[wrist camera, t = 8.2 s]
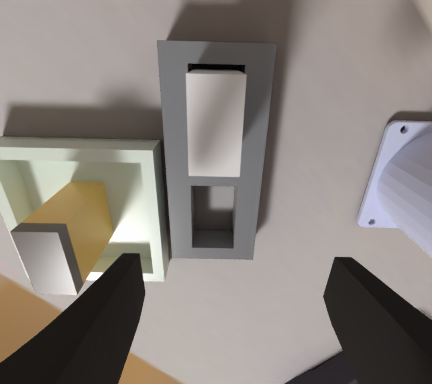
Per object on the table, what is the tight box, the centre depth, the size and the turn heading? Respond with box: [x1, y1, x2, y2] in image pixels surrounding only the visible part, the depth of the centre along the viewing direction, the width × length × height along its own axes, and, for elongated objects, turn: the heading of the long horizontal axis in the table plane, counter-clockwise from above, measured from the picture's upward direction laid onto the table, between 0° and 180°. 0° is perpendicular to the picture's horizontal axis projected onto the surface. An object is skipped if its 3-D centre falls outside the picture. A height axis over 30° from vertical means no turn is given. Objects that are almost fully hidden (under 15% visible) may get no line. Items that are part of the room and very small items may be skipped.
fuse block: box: [157, 40, 277, 260], centre depth 17 cm, size 6×14×2 cm, turn 179°
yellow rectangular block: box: [10, 182, 114, 295], centre depth 17 cm, size 2×4×6 cm, turn 179°
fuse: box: [186, 68, 247, 177], centre depth 14 cm, size 2×4×6 cm, turn 179°
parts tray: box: [0, 136, 169, 282], centre depth 19 cm, size 11×11×2 cm
